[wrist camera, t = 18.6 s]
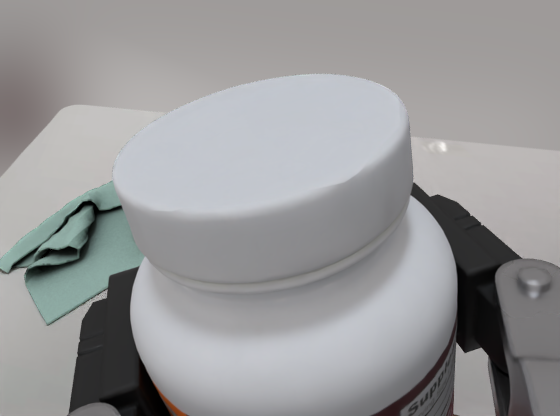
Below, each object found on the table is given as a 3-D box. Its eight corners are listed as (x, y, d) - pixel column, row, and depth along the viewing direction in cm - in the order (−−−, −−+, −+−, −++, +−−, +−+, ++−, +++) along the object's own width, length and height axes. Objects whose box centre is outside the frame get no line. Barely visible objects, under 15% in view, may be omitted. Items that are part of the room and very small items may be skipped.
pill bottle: (186, 526, 13) (-28, 198, 7) (298, 358, 17) (221, 58, 11) (401, 686, 10) (341, 321, 4) (479, 431, 14) (508, 57, 8)
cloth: (217, 153, 53) (212, 134, 52) (223, 284, 35) (215, 259, 33) (40, 194, 53) (30, 176, 52) (-47, 347, 35) (-67, 325, 33)
